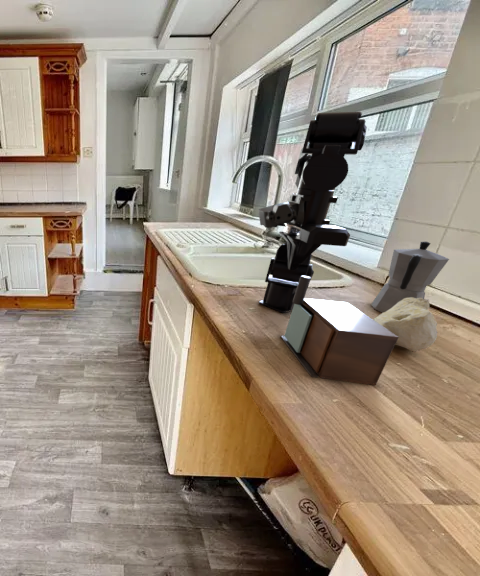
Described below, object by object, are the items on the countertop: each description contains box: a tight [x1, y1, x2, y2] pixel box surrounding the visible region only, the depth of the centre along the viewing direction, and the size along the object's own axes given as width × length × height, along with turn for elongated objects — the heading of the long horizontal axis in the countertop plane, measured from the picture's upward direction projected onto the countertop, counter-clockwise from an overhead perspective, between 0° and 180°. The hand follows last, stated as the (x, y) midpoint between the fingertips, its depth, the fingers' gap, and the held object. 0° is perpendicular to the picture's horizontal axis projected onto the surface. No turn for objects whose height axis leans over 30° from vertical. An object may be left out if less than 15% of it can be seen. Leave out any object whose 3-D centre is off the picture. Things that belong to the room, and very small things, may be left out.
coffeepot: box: [370, 240, 450, 314], centre depth 74 cm, size 15×9×18 cm, turn 129°
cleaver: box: [283, 275, 312, 353], centre depth 57 cm, size 6×2×13 cm, turn 171°
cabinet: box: [280, 297, 399, 386], centre depth 54 cm, size 13×10×9 cm
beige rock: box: [372, 297, 438, 353], centre depth 62 cm, size 15×7×15 cm
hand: (291, 269), depth 62 cm, fingers closed
